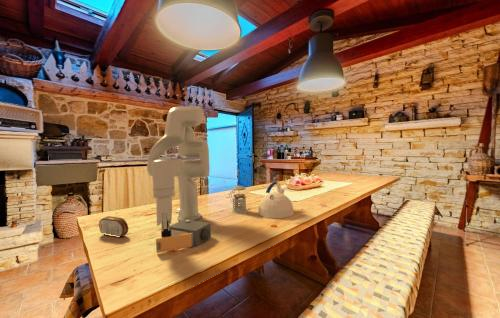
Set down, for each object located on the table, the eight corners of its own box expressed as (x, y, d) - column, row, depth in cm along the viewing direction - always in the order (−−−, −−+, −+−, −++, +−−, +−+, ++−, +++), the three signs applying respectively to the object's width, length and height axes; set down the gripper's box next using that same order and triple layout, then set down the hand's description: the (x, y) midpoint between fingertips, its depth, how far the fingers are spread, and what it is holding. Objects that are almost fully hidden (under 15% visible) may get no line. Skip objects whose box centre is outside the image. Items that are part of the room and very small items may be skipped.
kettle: (299, 210, 124) (298, 180, 123) (285, 221, 106) (284, 185, 105) (268, 206, 134) (267, 178, 134) (251, 215, 117) (250, 183, 116)
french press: (241, 214, 119) (240, 170, 117) (225, 212, 125) (224, 170, 124) (251, 210, 127) (249, 168, 126) (235, 207, 133) (234, 168, 132)
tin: (129, 236, 93) (128, 217, 93) (123, 239, 90) (121, 220, 90) (104, 233, 98) (103, 215, 97) (98, 235, 95) (96, 217, 94)
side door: (156, 253, 75) (155, 240, 75) (156, 252, 76) (156, 238, 76) (193, 246, 79) (193, 233, 79) (193, 245, 81) (192, 232, 81)
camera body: (168, 241, 86) (167, 225, 86) (185, 232, 95) (184, 217, 95) (198, 247, 80) (197, 230, 80) (213, 237, 89) (212, 221, 89)
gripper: (154, 190, 85) (156, 235, 85) (151, 197, 71) (154, 251, 71) (174, 188, 87) (176, 232, 88) (175, 195, 73) (177, 246, 74)
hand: (166, 240), depth 80 cm, fingers closed
